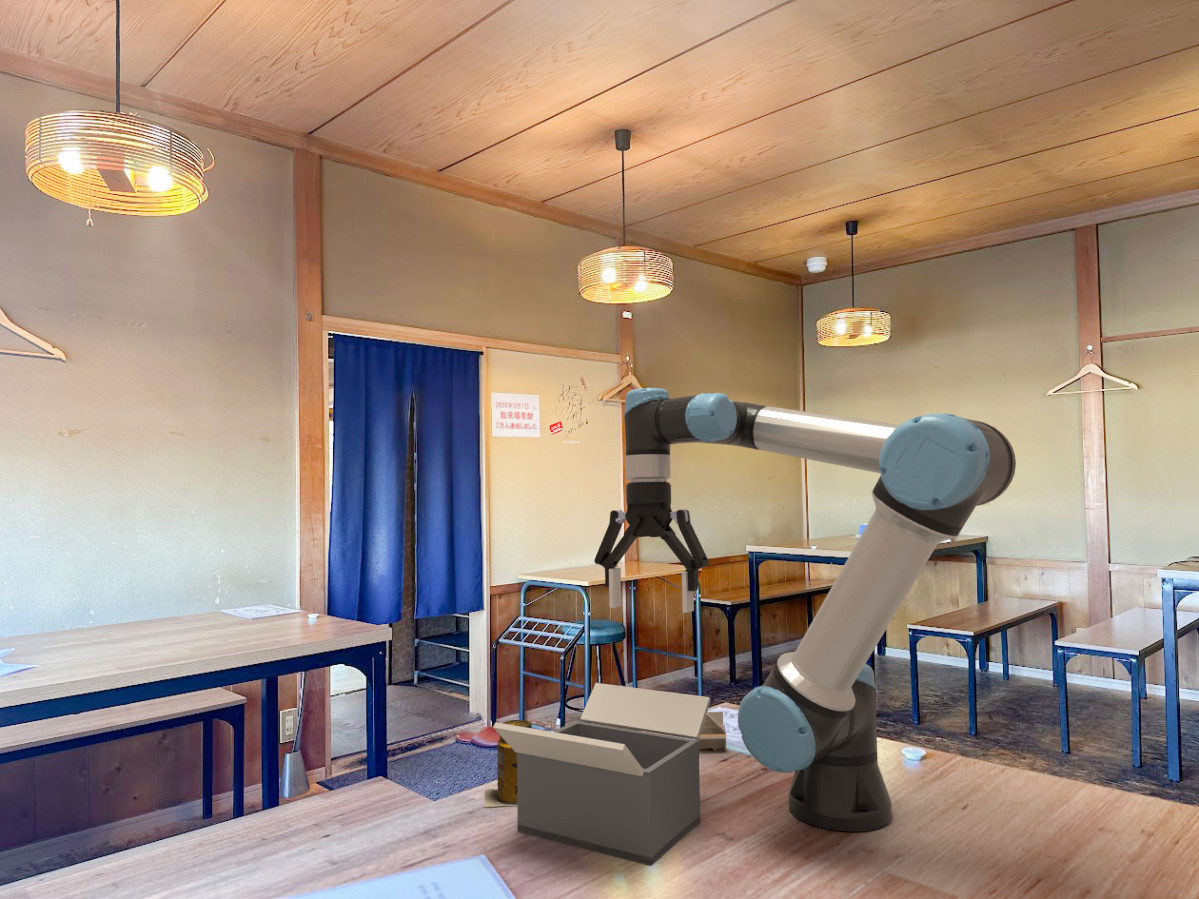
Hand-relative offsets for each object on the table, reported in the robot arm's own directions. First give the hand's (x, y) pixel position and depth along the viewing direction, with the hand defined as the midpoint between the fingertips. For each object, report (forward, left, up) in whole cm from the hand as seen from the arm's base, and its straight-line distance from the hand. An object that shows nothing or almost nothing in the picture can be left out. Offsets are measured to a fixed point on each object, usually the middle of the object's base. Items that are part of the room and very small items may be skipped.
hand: (650, 609), depth 130 cm
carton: (0, +14, -30) cm, 33 cm away
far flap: (0, +3, -15) cm, 16 cm away
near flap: (0, +25, -15) cm, 29 cm away
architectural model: (+1, -27, -31) cm, 41 cm away
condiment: (+20, +12, -30) cm, 38 cm away
